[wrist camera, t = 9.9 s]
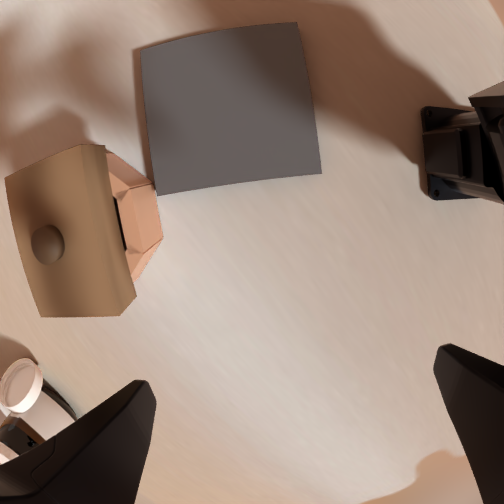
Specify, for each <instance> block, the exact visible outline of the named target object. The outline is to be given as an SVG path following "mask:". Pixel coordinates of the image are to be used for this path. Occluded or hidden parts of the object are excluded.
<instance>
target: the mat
mask: <svg viewBox="0 0 504 504" xmlns="http://www.w3.org/2000/svg"><path fill="white" fill-rule="evenodd" d="M140 54H141V70H142V83H143V94H144V104H145V114H146V123H147V131H148V139H149V147H150V154H151V161H152V167H153V174H154V180H155V186H156V192H157V196H161V195H167V194H172V193H178V192H184V191H190V190H196V189H202V188H208V187H215V186H221V185H228V184H235V183H243V182H250V181H258V180H266V179H274V178H283V177H292V176H302V175H313V174H322V170H321V161H320V153H319V145H318V137H317V130H316V123H315V116H314V109H313V103H312V97H311V91H310V85H309V79H308V74H307V68H306V63H305V58H304V53H303V48H302V43H301V38H300V34H299V29H298V25H297V22H292V23H276V24H264V25H255V26H247V27H239V28H232V29H226V30H220V31H215V32H209V33H204V34H199V35H195V36H190V37H186V38H182V39H178V40H174V41H170V42H167V43H163V44H160V45H156V46H153V47H149V48H146V49H143V50H140Z"/></svg>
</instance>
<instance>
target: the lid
mask: <svg viewBox="0 0 504 504" xmlns="http://www.w3.org/2000/svg"><path fill="white" fill-rule="evenodd" d="M5 186H6V192H7V199H8V204H9V210H10V215H11V220H12V225H13V229H14V234H15V238H16V242H17V246H18V250H19V253H20V257H21V260H22V264H23V267H24V271H25V274H26V277H27V280H28V283H29V286H30V289H31V292H32V295H33V298H34V300H35V303H36V306H37V308H38V311H39V314H40V316H41V317H104V316H120V315H121V314H122V313H123V312H124V310H125V309H126V308H127V307H128V306H129V305H130V303H131V302H132V301H133V300H134V299H135V298H136V297H137V295H136V291H135V288H134V284H133V281H132V277H131V274H130V270H129V266H128V262H127V258H126V254H125V250H124V246H123V242H122V238H121V233H120V229H119V224H118V220H117V215H116V210H115V205H114V199H113V194H112V188H111V183H110V177H109V170H108V164H107V157H106V149H105V145H84V144H80V145H78V146H75V147H72V148H70V149H67V150H65V151H62V152H60V153H57V154H55V155H52V156H50V157H48V158H45V159H43V160H41V161H39V162H36V163H34V164H32V165H30V166H28V167H26V168H24V169H21V170H19V171H17V172H15V173H13V174H11V175H9V176H7V177H5Z"/></svg>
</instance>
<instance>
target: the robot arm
mask: <svg viewBox="0 0 504 504" xmlns="http://www.w3.org/2000/svg"><path fill="white" fill-rule="evenodd" d="M468 99H469V101H470V103H471V105H472V107H474V108H475V110H476V111H475V112H471V111H465V110H458V109H450V108H441V107H431V106H427V107H423V108H422V109H421V118H422V125H423V133H424V134H423V144H424V154H425V166H426V171H427V178H428V195H429V197H430V198H431V199H433V200H453V199H470V198H483V199H486V200H490V201H494V202H497V203H501V204H504V81H503V82H501V83H498V84H496V85H494V86H492V87H489V88H487V89H485V90H483V91H481V92H478V93H476V94H474V95H472V96H470V97H468ZM427 111H428V112H429V114H430V116H428V115H427ZM435 190H436V192H437V193H436V195H435V196H434V191H435ZM433 370H434V375H435V377H436V380H437V383H438V386H439V389H440V391H441V394H442V397H443V400H444V403H445V406H446V409H447V411H448V414H449V416H450V418H451V420H452V423H453V425H454V427H455V429H456V432H457V434H458V436H459V439H460V441H461V443H462V446H463V448H464V451H465V453H466V456H467V458H468V461H469V463H470V466H471V469H472V471H473V474H474V477H475V479H476V482H477V485H478V488H479V491H480V494H481V497H482V500H483V503H484V504H504V366H503V365H500V364H498V363H496V362H493V361H491V360H489V359H486V358H484V357H482V356H479V355H477V354H475V353H472V352H470V351H467V350H465V349H463V348H460V347H458V346H456V345H454V344H451V343H449V344H445V345H442V346H440V347H439V348H438V350H437V355H436V359H435V363H434V367H433ZM155 411H156V398H155V396H154V394H153V392H152V389H151V387H150V385H149V383H148V382H147V381H146V380H134V381H132V382H131V383H129V384H128V385H127V386H125V387H124V388H122V389H121V390H120V391H118V392H117V393H115V394H114V395H112V396H111V397H110V398H108V399H107V400H105V401H104V402H102V403H101V404H100V405H98V406H97V407H95V408H94V409H92V410H91V411H89V412H88V413H87V414H85V415H84V416H82V417H81V418H79V419H78V420H76V421H75V422H73V423H72V424H70V425H69V426H67V427H66V428H64V429H63V430H61V431H60V432H58V433H57V434H56V435H54V436H52V437H51V438H49V439H48V440H46V441H45V442H43V443H41V444H40V445H38V446H36V447H35V448H33V449H31V450H29V451H27V452H25V453H24V454H22V455H20V456H18V457H16V458H14V459H12V460H10V461H8V462H5V463H3V464H1V465H0V504H134V503H135V499H136V495H137V491H138V487H139V483H140V480H141V476H142V472H143V468H144V465H145V461H146V457H147V454H148V450H149V446H150V442H151V436H152V429H153V423H154V417H155Z"/></svg>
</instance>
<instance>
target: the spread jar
mask: <svg viewBox="0 0 504 504" xmlns="http://www.w3.org/2000/svg"><path fill="white" fill-rule="evenodd" d="M42 383H43V376H42V372H41V370H40V368H39V367H38V366H37V365H36V364H35V363H34V362H33V361H32V360H31V359H28V358H22V359H19V360H17V361H15V362H14V363H13V364H12V365H11V366H10V367H9V368H8V369H7V370H6V372H5V373H4V375H3V377H2V379H1V382H0V402H1V403H2V405H4V406H5V407H6V408H7V409H9V410H10V411H11V413H10V414H9V415H8V416H7V418H6V419H5V420H4V422H3V423H2V425H1V426H0V463H1V464H3V463H5V462H8V461H10V460H12V459H14V458H16V457H18V456H20V455H22V454H24V453H25V452H27V451H29V450H31V449H33V448H35V447H36V446H38V445H40V444H41V443H43V442H45V441H46V440H48V439H49V438H51V437H52V436H54V435H56V434H57V433H58V432H60V431H61V430H63V429H64V428H66V427H67V426H69V425H70V424H72V423H73V422H75V421H76V420H78V419H77V417H76V415H75V413H74V412H73V410H72V409H71V408H70V406H69V405H68V404H67V403H66V402H65V401H64V400H63V399H62V398H61V397H59V396H58V395H57V394H56V393H54V392H53V391H51V390H49V389H47V388H45V387H42Z"/></svg>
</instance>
